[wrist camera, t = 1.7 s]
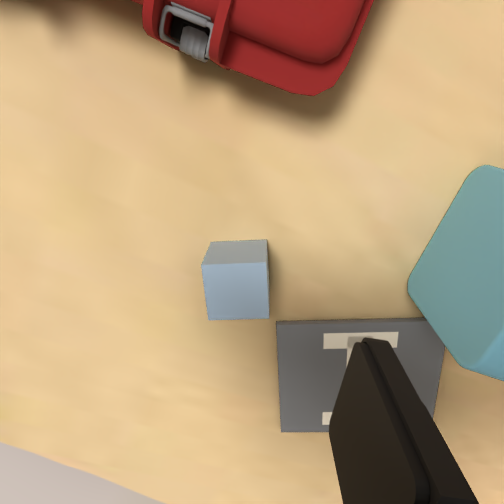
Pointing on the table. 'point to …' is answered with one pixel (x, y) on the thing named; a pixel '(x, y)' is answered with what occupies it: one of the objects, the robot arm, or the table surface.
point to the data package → (467, 275)
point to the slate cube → (236, 280)
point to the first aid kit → (264, 36)
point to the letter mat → (346, 363)
